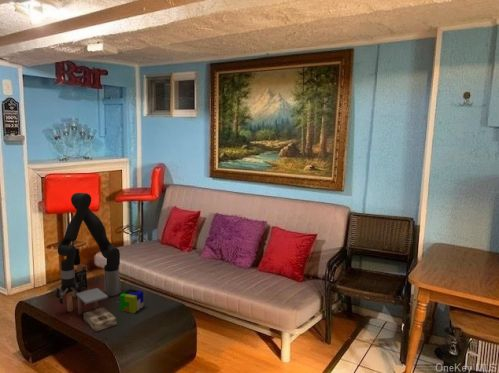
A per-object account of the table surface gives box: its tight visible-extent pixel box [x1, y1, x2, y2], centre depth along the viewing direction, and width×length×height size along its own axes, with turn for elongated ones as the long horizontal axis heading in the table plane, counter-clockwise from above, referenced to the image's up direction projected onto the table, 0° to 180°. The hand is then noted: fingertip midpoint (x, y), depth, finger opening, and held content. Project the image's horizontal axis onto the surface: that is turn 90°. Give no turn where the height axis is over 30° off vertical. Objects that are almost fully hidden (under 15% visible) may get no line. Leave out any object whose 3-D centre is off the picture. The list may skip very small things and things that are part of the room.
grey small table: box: [76, 287, 109, 315], centre depth 234 cm, size 13×16×13 cm
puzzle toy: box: [119, 288, 145, 314], centre depth 244 cm, size 10×10×10 cm
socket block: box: [82, 306, 118, 332], centre depth 227 cm, size 12×18×4 cm, turn 43°
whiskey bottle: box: [67, 247, 89, 299], centre depth 261 cm, size 10×10×32 cm
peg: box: [65, 293, 74, 313], centre depth 240 cm, size 3×3×10 cm
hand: (68, 301), depth 240 cm, fingers open, 8 cm apart
